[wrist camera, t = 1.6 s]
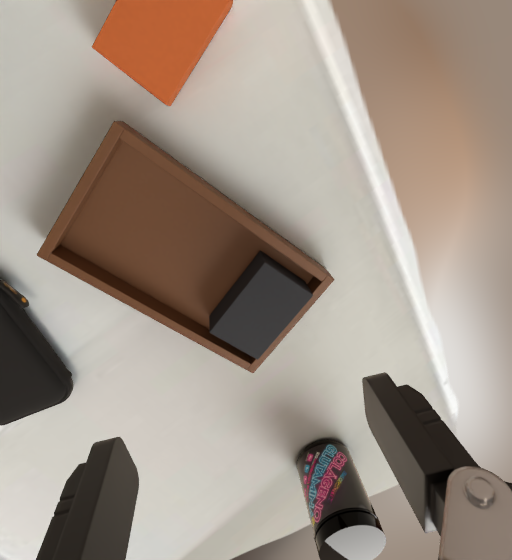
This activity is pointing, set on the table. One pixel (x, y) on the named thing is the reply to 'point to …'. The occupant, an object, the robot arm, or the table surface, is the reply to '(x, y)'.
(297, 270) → the brown wooden tray
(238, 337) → the charcoal pad
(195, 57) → the rust pad
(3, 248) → the table surface
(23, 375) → the carrying case
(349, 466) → the supplement container
